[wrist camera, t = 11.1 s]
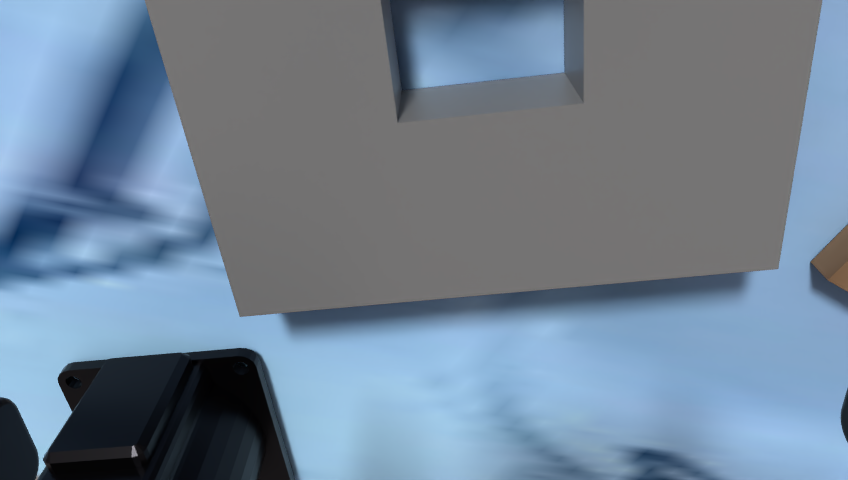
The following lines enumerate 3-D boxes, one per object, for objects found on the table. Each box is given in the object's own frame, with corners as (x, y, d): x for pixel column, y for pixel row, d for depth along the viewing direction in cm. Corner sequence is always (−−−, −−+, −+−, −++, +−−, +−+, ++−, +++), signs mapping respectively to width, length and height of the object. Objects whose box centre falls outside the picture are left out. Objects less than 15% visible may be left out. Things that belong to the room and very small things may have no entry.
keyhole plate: (739, 222, 19) (777, 269, 17) (260, 267, 20) (240, 316, 18) (823, -438, 13) (904, -501, 10) (99, -328, 14) (35, -363, 11)
